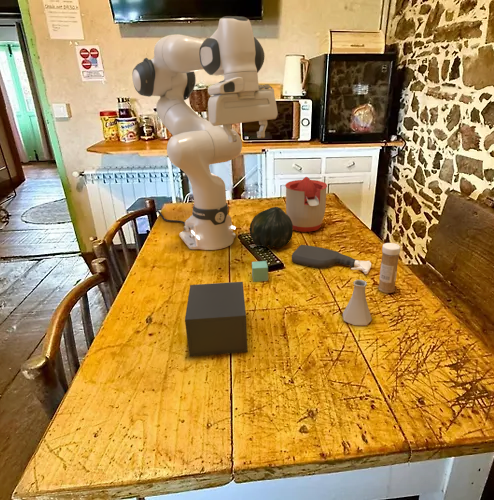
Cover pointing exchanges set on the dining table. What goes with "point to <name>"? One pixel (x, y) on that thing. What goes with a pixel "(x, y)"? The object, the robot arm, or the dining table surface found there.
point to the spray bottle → (326, 258)
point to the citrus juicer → (306, 204)
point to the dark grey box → (216, 319)
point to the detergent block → (259, 271)
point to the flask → (357, 306)
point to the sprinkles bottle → (389, 267)
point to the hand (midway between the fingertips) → (247, 139)
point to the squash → (271, 228)
